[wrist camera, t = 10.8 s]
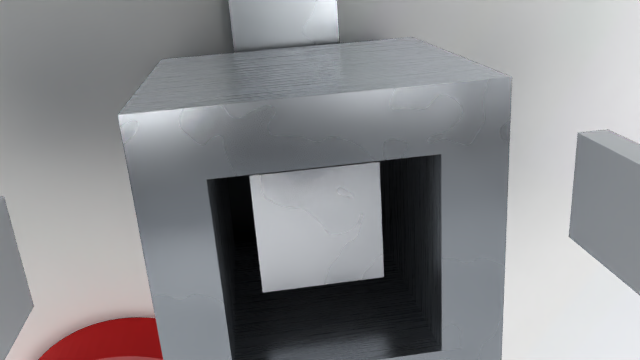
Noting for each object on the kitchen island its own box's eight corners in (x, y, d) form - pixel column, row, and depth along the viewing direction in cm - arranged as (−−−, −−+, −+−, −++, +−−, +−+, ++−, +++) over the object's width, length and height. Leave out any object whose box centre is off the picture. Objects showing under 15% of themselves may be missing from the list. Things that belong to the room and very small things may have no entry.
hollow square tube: (197, 285, 20) (178, 441, 13) (161, 59, 18) (117, 114, 11) (416, 258, 21) (499, 392, 14) (412, 37, 18) (511, 76, 12)
